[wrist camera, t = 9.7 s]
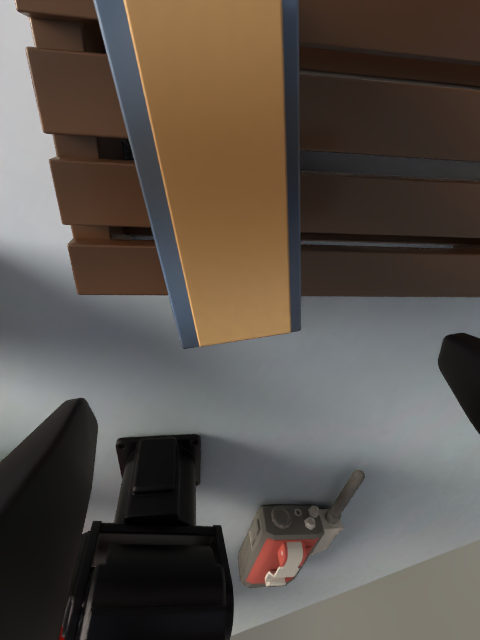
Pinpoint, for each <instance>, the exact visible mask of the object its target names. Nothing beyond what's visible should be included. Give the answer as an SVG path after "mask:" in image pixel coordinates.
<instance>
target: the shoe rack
mask: <svg viewBox="0 0 480 640" xmlns="http://www.w3.org/2000/svg"><path fill="white" fill-rule="evenodd" d="M15 4H16V9H17V11H18V12H20V13H22V14H24V15H26V16H28V17H29V19H30V24H31V29H32V34H33V39H34V44H35V47H26V54H27V59H28V64H29V68H30V73H31V78H32V82H33V87H34V92H35V96H36V101H37V106H38V110H39V115H40V120H41V124H42V129H43V132H44V133H46V134H53V139H54V144H55V149H56V154H57V157H54V158H52V159H49V163H50V168H51V173H52V177H53V182H54V187H55V191H56V196H57V201H58V206H59V210H60V215H61V220H62V223H63V224H64V225H71V228H72V233H73V239H72V240H71V241H70V242H69V243H68V251H69V256H70V260H71V265H72V270H73V274H74V279H75V284H76V288H77V293H78V294H79V295H168V291H167V287H166V283H165V279H164V275H163V271H162V267H161V264H160V260H159V256H158V252H157V248H156V244H155V240H132V236H153V232H152V228H151V224H150V221H149V217H148V213H147V209H146V205H145V201H144V197H143V193H142V189H141V185H140V182H139V178H138V174H137V170H136V166H135V162H134V161H131V160H124V158H123V149H122V139H128V135H127V131H126V127H125V123H124V119H123V115H122V111H121V107H120V103H119V100H118V96H117V92H116V88H115V84H114V80H113V76H112V72H111V68H110V64H109V60H108V57H107V53H106V49H105V45H104V41H103V37H102V33H101V29H100V25H99V21H98V18H97V14H96V10H95V6H94V2H93V0H15ZM299 106H300V150H302V151H317V152H333V153H348V154H363V155H378V156H393V157H409V158H424V159H439V160H454V161H469V162H480V0H299ZM300 240H301V241H333V242H368V243H403V244H438V245H455V247H454V248H419V247H382V246H345V245H309V244H301V296H368V297H480V181H478V180H461V179H444V178H426V177H409V176H391V175H374V174H357V173H339V172H322V171H305V170H300Z"/></svg>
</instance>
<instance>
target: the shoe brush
mask: <svg viewBox="0 0 480 640" xmlns="http://www.w3.org/2000/svg"><path fill="white" fill-rule="evenodd" d="M93 2H94V6H95V10H96V14H97V18H98V21H99V25H100V29H101V33H102V37H103V41H104V45H105V49H106V53H107V57H108V60H109V64H110V68H111V72H112V76H113V80H114V84H115V88H116V92H117V96H118V100H119V103H120V107H121V111H122V115H123V119H124V123H125V127H126V131H127V135H128V139H129V142H130V146H131V150H132V154H133V158H134V162H135V166H136V170H137V174H138V178H139V182H140V185H141V189H142V193H143V197H144V201H145V205H146V209H147V213H148V217H149V221H150V224H151V228H152V232H153V236H154V240H155V244H156V248H157V252H158V256H159V260H160V264H161V267H162V271H163V275H164V279H165V283H166V287H167V291H168V295H169V299H170V303H171V306H172V310H173V314H174V318H175V322H176V326H177V330H178V334H179V338H180V342H181V346H182V348H183V349H186V348H193V347H199V346H200V347H203V346H209V345H215V344H222V343H228V342H235V341H241V340H248V339H254V338H260V337H267V336H273V335H280V334H286V333H291V332H296V331H300V330H301V240H300V106H299V0H93Z"/></svg>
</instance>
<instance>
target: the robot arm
mask: <svg viewBox="0 0 480 640" xmlns="http://www.w3.org/2000/svg"><path fill="white" fill-rule="evenodd" d="M438 366H439V369H440V371H441V373H442V375H443V376H444V378H445V380H446V381H447V383H448V385H449V386H450V388H451V390H452V392H453V393H454V395H455V397H456V398H457V400H458V402H459V403H460V405H461V407H462V409H463V410H464V412H465V414H466V415H467V417H468V418H469V420H470V422H471V423H472V424H473V426H474V427H475V429H476V430H477V432H478V433H479V434H480V338H477V337H474V336H472V335H469V334H466V333H456V334H450V335H447V336H445V338H444V339H443V342H442V346H441V350H440V354H439V358H438ZM97 434H98V424H97V420H96V418H95V416H94V414H93V412H92V410H91V408H90V406H89V404H88V402H87V401H86V400H85V399H84V398H77V399H71V400H67V401H65V402H64V403H63V404H62V405H60V406H59V407H58V408H57V409H56V410H55V411H54V412H53V413H52V414H51V415H50V416H49V417H48V418H47V419H46V420H45V421H44V422H43V423H41V424H40V425H39V426H38V427H37V428H36V429H35V430H34V431H33V432H32V433H31V434H30V435H29V436H28V437H27V438H26V439H25V440H23V441H22V442H21V443H20V444H19V445H18V446H17V447H16V448H15V449H14V450H13V451H12V452H11V453H10V454H9V455H8V456H7V457H6V458H4V459H3V460H2V461H1V462H0V640H59V637H60V632H61V628H62V627H63V630H62V636H61V637H65V638H64V640H230V636H231V632H232V626H233V613H234V596H233V585H232V579H231V574H230V569H229V563H228V558H227V553H226V548H225V543H224V538H223V533H222V527H221V525H213V527H211V526H196V486H198V485H199V484H200V463H201V438H200V436H199V435H196V434H192V435H171V436H151V437H130V438H120V439H118V440H117V443H116V450H117V455H118V460H119V465H120V470H121V475H122V483H121V489H120V494H119V499H118V504H117V510H116V515H115V520H114V523H101V522H102V521H93V523H92V527H91V531H88V532H86V533H84V534H82V532H83V527H84V523H85V518H86V513H87V509H88V504H89V499H90V494H91V489H92V481H93V472H94V462H95V453H96V443H97ZM94 565H97V566H96V567H93V566H94Z"/></svg>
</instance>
